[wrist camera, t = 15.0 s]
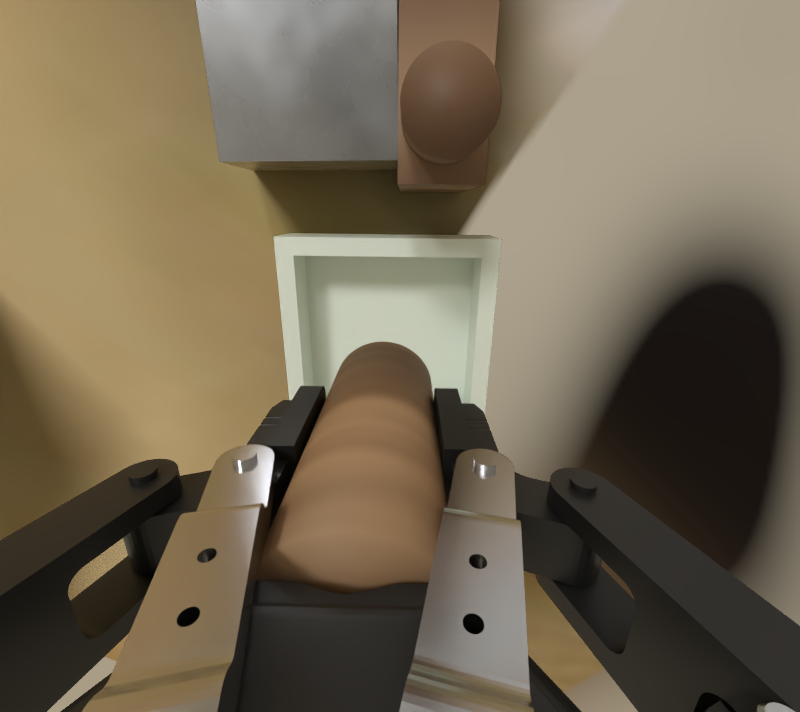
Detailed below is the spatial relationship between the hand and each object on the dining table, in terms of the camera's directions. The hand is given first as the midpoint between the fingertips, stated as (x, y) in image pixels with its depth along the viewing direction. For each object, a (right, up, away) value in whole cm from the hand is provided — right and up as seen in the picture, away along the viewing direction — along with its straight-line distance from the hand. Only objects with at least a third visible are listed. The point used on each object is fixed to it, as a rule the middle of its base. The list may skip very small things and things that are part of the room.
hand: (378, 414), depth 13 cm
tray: (0, +3, +9) cm, 9 cm away
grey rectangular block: (-3, +16, +5) cm, 17 cm away
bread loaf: (0, +1, +2) cm, 2 cm away
